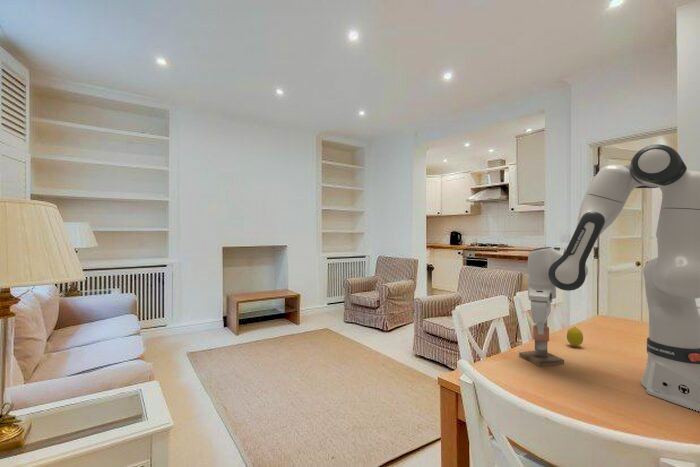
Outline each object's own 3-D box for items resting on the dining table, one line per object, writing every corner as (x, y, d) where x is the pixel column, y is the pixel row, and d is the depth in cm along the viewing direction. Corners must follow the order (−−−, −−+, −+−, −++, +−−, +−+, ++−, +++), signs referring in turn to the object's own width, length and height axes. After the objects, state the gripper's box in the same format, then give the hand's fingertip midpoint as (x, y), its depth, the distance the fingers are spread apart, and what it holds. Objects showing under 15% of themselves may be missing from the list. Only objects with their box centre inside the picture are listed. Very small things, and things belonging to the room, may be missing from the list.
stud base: (564, 364, 119) (564, 342, 119) (540, 366, 116) (540, 345, 116) (541, 353, 129) (541, 334, 128) (519, 356, 126) (519, 336, 126)
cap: (545, 337, 125) (545, 324, 125) (551, 341, 120) (551, 328, 120) (530, 337, 125) (530, 323, 125) (536, 341, 120) (536, 327, 120)
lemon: (582, 350, 132) (582, 329, 132) (565, 347, 136) (566, 327, 136) (583, 346, 137) (583, 326, 137) (567, 343, 140) (567, 324, 140)
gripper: (535, 287, 132) (536, 322, 132) (527, 295, 116) (528, 336, 116) (554, 288, 129) (555, 325, 129) (548, 297, 112) (549, 339, 112)
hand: (542, 330), depth 122 cm, fingers open, 8 cm apart
